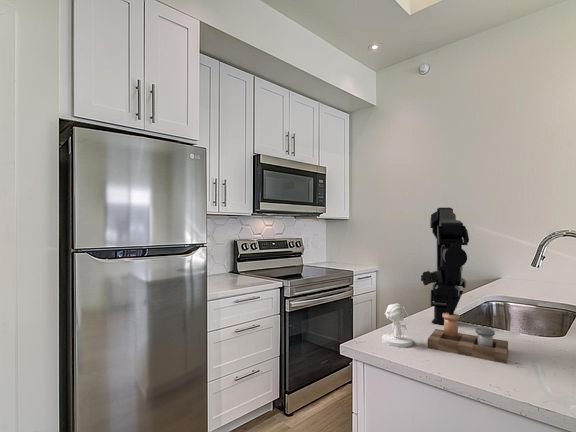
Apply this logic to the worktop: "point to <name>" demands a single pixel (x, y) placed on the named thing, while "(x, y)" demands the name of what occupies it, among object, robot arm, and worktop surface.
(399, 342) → the figurine
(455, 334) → the plug terracotta
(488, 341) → the plug grey
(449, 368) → the worktop surface
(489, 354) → the socket board
